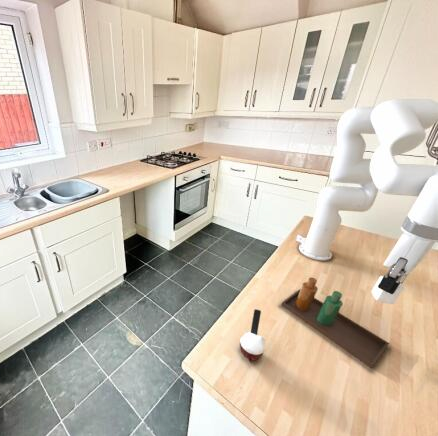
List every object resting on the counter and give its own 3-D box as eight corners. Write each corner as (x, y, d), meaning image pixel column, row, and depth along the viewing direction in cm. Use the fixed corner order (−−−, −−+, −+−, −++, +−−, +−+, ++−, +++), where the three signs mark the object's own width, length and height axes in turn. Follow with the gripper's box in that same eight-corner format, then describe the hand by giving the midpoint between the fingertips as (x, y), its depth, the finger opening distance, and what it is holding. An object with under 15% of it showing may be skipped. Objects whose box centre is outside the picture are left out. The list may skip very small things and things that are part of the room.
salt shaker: (375, 301, 66) (392, 275, 62) (370, 291, 69) (385, 265, 65) (394, 305, 65) (412, 279, 60) (387, 295, 68) (404, 269, 63)
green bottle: (313, 319, 78) (326, 292, 72) (320, 313, 80) (333, 286, 74) (328, 328, 75) (342, 301, 69) (334, 322, 77) (349, 295, 71)
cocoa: (254, 372, 64) (263, 343, 59) (232, 356, 68) (239, 328, 63) (267, 347, 70) (277, 319, 65) (247, 334, 74) (254, 306, 68)
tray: (280, 306, 83) (282, 302, 82) (298, 293, 88) (300, 288, 87) (370, 369, 64) (373, 365, 63) (386, 347, 70) (389, 343, 69)
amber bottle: (292, 304, 83) (302, 278, 77) (299, 299, 85) (309, 273, 79) (305, 313, 80) (316, 286, 74) (311, 307, 82) (323, 281, 76)
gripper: (415, 212, 63) (383, 266, 72) (391, 232, 55) (359, 290, 64) (458, 224, 57) (418, 281, 66) (439, 248, 49) (396, 309, 58)
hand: (389, 285), depth 65 cm, fingers closed on salt shaker, 5 cm apart
